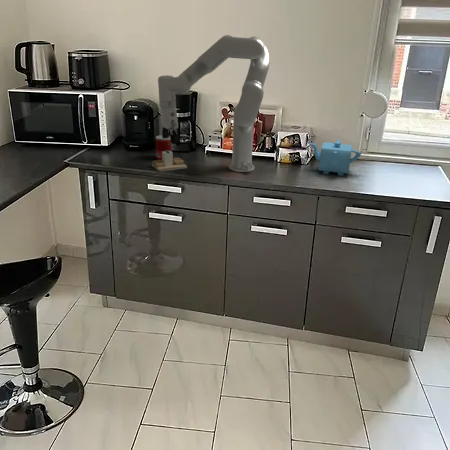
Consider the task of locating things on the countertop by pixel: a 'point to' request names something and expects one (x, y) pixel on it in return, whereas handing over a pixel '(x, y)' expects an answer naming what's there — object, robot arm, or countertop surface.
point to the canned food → (162, 146)
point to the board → (176, 165)
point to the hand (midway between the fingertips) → (169, 140)
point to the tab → (167, 157)
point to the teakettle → (335, 157)
